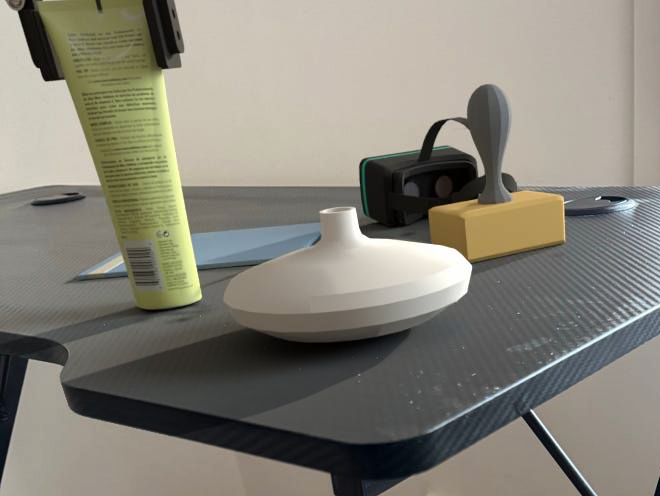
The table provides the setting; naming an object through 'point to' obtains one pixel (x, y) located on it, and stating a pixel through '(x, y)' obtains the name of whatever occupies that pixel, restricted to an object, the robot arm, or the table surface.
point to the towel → (228, 248)
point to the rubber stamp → (496, 195)
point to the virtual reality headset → (420, 180)
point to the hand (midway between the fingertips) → (113, 72)
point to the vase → (347, 285)
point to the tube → (128, 140)
